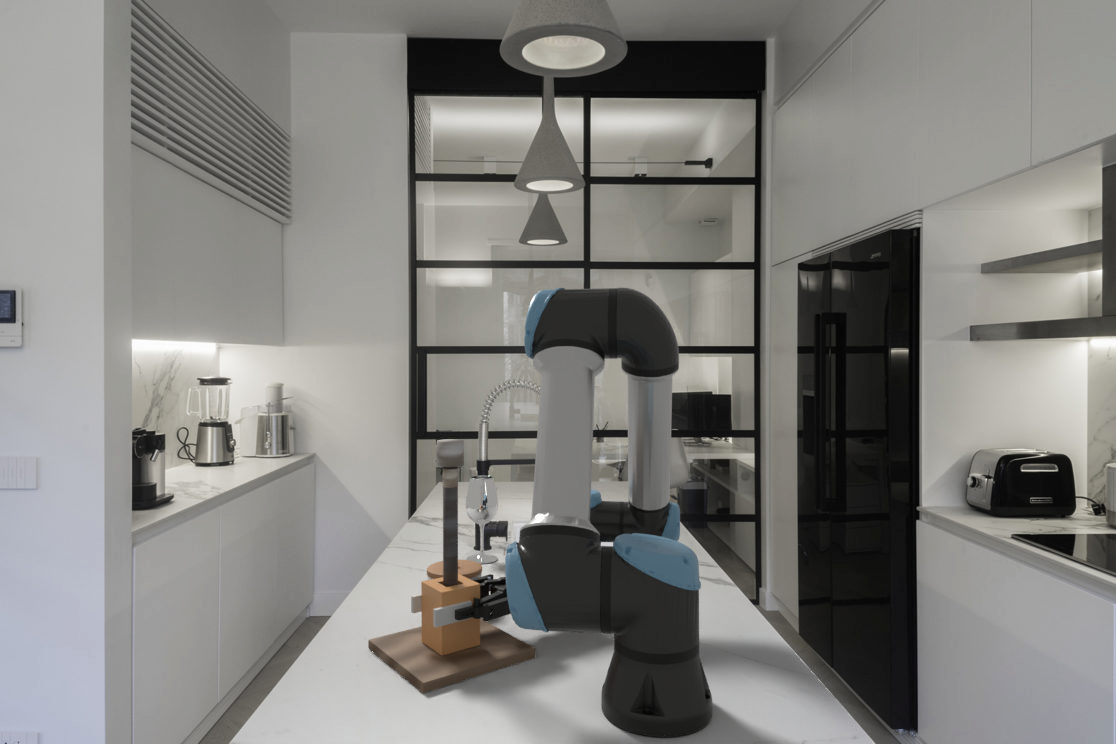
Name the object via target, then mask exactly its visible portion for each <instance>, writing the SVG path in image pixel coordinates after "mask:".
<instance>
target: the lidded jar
mask: <svg viewBox="0 0 1116 744" xmlns="http://www.w3.org/2000/svg"><path fill="white" fill-rule="evenodd" d="M482 572H483V566H482V564H479V563H477V562H474V561H470V560H466V559H458V574H460V575H462V576H464V577H466V578H468V579H472V578H478V577H482ZM426 576H427V580H431V579H436V578H441V577H443V560H441V561H436V562H433V563H431V564H430V565H428V566H427V567H426ZM427 580H426V581H427Z"/></svg>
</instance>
